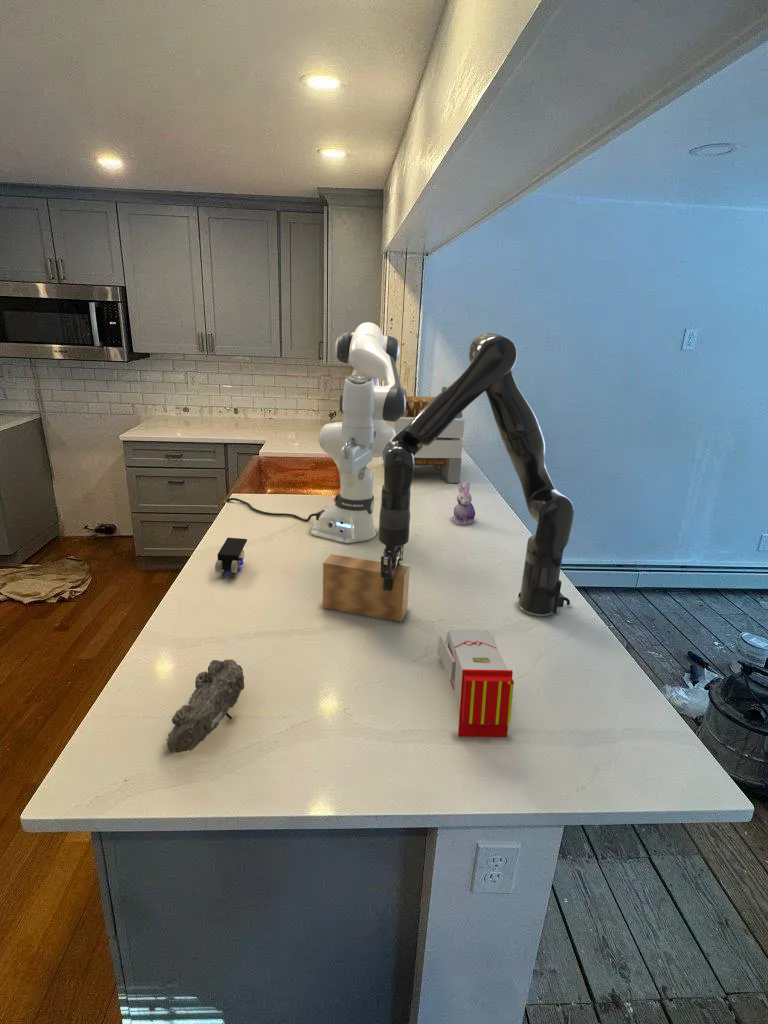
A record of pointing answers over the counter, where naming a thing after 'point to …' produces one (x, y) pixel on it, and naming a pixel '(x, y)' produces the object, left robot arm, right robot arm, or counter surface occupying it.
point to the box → (364, 588)
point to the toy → (478, 682)
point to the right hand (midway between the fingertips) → (391, 584)
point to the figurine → (464, 506)
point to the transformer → (443, 448)
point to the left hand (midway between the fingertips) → (356, 483)
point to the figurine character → (230, 556)
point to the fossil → (206, 705)
